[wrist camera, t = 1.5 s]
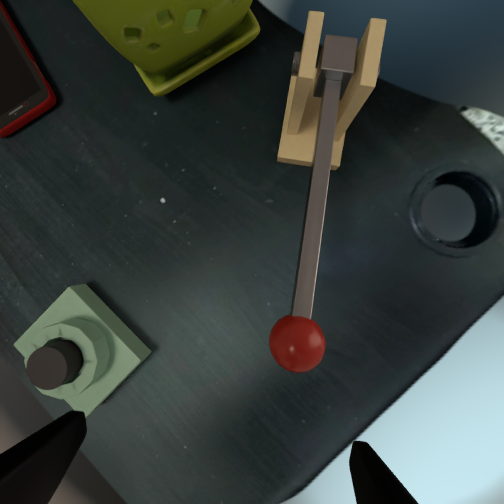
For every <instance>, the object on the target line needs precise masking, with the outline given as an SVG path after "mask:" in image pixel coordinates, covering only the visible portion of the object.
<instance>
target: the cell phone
mask: <svg viewBox="0 0 504 504" xmlns="http://www.w3.org/2000/svg"><path fill="white" fill-rule="evenodd" d="M55 104H56V96H55V94H54V92H53V90H52V88H51V86H50V84H49V83H48V81H46V80H45V78H44V76H43V74H42V73H41V71H40V69H39V68H38V66H37V64H36V60H35V59H34V57H33V55H32V53H31V52H30V50H29V48H28V46H27V45H26V43H25V41H24V40H23V38H22V36H21V34H20V33H19V31H18V29H17V27H16V26H15V24H14V22H13V21H12V19H11V17H10V15H9V14H8V12H7V10H6V9H5V7H4V5H3V3H2V2H1V0H0V138H2V137H6V136H8V135H10V134H12V133H13V132H15V131H16V130H18V129H19V128H21V127H23V126H24V125H26V124H27V123H29V122H30V121H32V120H33V119H35V118H37V117H38V116H40V115H41V114H43V113H44V112H46V111H47V110H49V109H50V108H52V107H53V106H54V105H55Z"/></svg>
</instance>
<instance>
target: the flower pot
mask: <svg viewBox="0 0 504 504" xmlns="http://www.w3.org/2000/svg"><path fill="white" fill-rule="evenodd" d="M252 1H253V0H73V2H74V3H75V4H76V5H77V6H78V8H79V9H80V10H81V11H82V12H83V14H84V15H85V16H86V17H87V19H88V20H89V21H90V22H91V23H92V25H93V26H94V27H95V28H96V29H97V30H98V31H99V32H100V34H101V35H102V36H103V37H104V38H105V39H106V40H107V41H108V42H109V43H110V44H111V45H112V46H113V47H114V48H115V49H116V50H117V51H118V52H119V53H120V54H122V55H123V56H124V57H125V58H126V59H127V60H129V61H130V62H132V63H133V64H134V66H135V68H136V69H137V71H138V73H139V74H140V76H141V78H142V79H143V81H144V82H145V84H146V85H147V87H148V89H149V90H150V91H151V93H152V94H153V95H155V96H157V97H159V96H163V95H165V94H167V93H169V92H171V91H172V90H174V89H176V88H178V87H179V86H181V85H183V84H184V83H186V82H187V81H189V80H191V79H192V78H194V77H196V76H197V75H199V74H201V73H202V72H204V71H206V70H207V69H209V68H210V67H212V66H214V65H215V64H217V63H219V62H220V61H222V60H224V59H225V58H227V57H229V56H230V55H232V54H234V53H235V52H237V51H238V50H240V49H242V48H243V47H245V46H246V45H248V44H249V43H250V42H251V41H253V40H254V39H255V38H256V36H257V35H258V34H259V32H260V26H259V24H258V22H257V20H256V18H255V16H254V15H253V13H252V11H251V9H250V8H249V7H250V5H251V3H252Z"/></svg>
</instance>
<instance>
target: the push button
mask: <svg viewBox="0 0 504 504" xmlns="http://www.w3.org/2000/svg"><path fill="white" fill-rule="evenodd" d="M82 364H83V356H82V352H81V350H80V348H79V347H78V346H77V345H76V344H75V343H74V342H72V341H69V340H57V341H55V342H52V343H50V344H47V345H45V346H43V347H40V348H38V349H36V350H35V351H34V352H33V353H32V354H31V355H30V357H29V359H28V361H27V365H26V371H27V375H28V378H29V380H30V381H31V383H32V384H33V385H34V386H36V387H37V388H39V389H43V390H52V389H55V388H57V387H59V386H61V385H62V384H64V383H65V382H67V381H68V380H70V379H71V378H73V377H74V376H76V375H77V374H78V373H79V371H80V370H81V367H82Z"/></svg>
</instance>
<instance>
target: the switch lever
mask: <svg viewBox="0 0 504 504" xmlns="http://www.w3.org/2000/svg"><path fill="white" fill-rule="evenodd" d="M357 40H358V39H357V38H349V37H342V36H334V35H326V36H325V39H324V43H323V47H322V51H321V54H320V58H319V62H318V66H317V71H316V78H315V85H314V91H313V97H318V98H321V103H320V110H319V117H318V124H317V131H316V138H315V145H314V152H313V159H312V165H311V172H310V179H309V186H308V193H307V200H306V207H305V214H304V221H303V228H302V235H301V242H300V249H299V255H298V262H297V269H296V276H295V283H294V290H293V297H292V304H291V311H290V314H289V315H286V316H284V317H282V318H281V319H279V320H278V321H277V322H276V323H275V325H274V326H273V328H272V330H271V333H270V337H269V346H270V350H271V353H272V356H273V357H274V359H275V360H276V362H277V363H278V364H279V365H280V366H281V367H283V368H284V369H286V370H288V371H291V372H296V373H302V372H307V371H309V370H312V369H313V368H315V367H316V366H317V365H318V364H319V363H320V361H321V360H322V358H323V355H324V352H325V338H324V335H323V332H322V330H321V328H320V327H319V326H318V324H317V323H316V322H315V321H314V320H312V319H311V315H312V307H313V299H314V291H315V284H316V276H317V268H318V261H319V253H320V245H321V237H322V230H323V222H324V214H325V206H326V199H327V191H328V183H329V175H330V168H331V160H332V152H333V144H334V137H335V129H336V121H337V113H338V106H339V101H341V100H342V98H343V96H344V94H345V91H346V89H347V87H348V84H349V82H350V80H351V78H352V75H353V73H354V66H355V58H356V49H357Z"/></svg>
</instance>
